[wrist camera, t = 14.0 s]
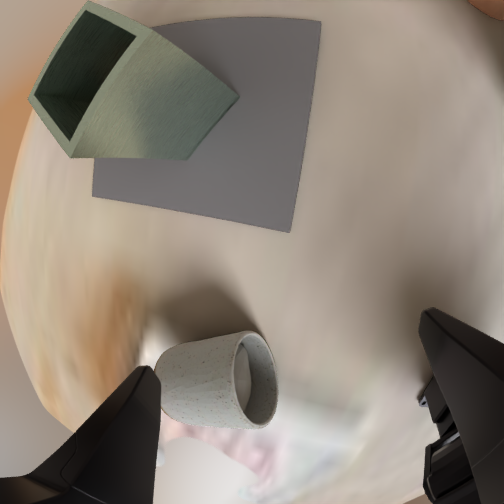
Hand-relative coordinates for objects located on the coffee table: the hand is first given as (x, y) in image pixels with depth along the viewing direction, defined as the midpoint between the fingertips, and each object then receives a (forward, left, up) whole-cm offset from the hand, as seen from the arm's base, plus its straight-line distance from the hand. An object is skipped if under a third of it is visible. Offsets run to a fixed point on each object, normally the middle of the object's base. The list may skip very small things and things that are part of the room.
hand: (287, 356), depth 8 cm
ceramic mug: (+4, +12, -13) cm, 18 cm away
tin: (+11, -9, -12) cm, 18 cm away
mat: (+11, -9, -12) cm, 19 cm away
